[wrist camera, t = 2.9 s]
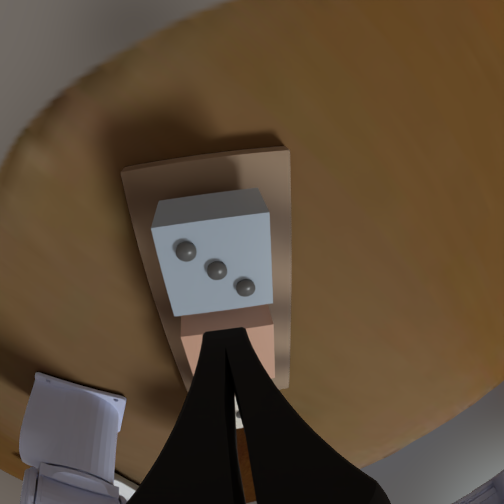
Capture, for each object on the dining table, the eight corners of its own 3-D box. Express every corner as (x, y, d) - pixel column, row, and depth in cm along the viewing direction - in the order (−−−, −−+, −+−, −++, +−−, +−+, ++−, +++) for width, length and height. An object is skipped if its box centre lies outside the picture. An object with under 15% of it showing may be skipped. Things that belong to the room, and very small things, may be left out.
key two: (266, 344, 22) (275, 380, 19) (196, 354, 22) (197, 391, 19) (263, 290, 19) (274, 326, 17) (181, 301, 19) (180, 339, 16)
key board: (286, 379, 28) (294, 406, 26) (190, 392, 28) (192, 421, 25) (285, 145, 17) (301, 161, 15) (124, 167, 16) (109, 186, 14)
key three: (262, 269, 19) (273, 305, 16) (176, 281, 18) (174, 319, 16) (257, 187, 16) (270, 214, 13) (158, 200, 16) (150, 230, 13)
